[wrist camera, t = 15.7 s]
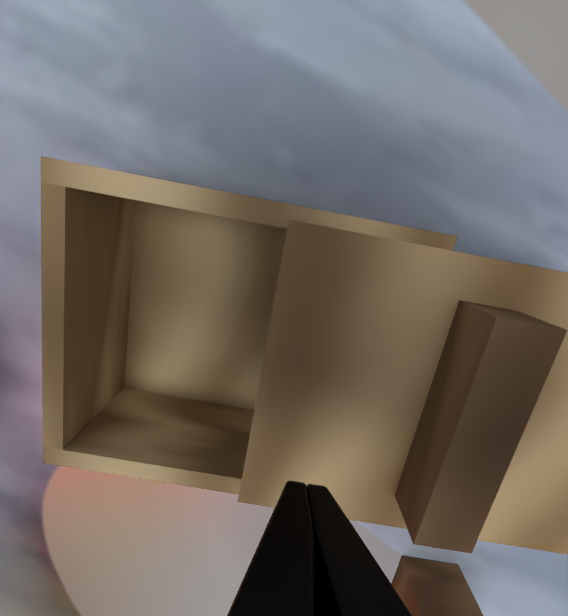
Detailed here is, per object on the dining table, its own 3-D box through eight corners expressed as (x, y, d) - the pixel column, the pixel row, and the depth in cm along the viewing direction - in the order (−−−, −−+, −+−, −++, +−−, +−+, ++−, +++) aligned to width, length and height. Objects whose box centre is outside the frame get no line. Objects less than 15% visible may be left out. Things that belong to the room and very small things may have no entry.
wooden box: (116, 390, 19) (43, 462, 14) (128, 179, 16) (40, 156, 11) (529, 461, 20) (626, 556, 14) (614, 272, 17) (778, 298, 11)
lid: (240, 485, 14) (229, 550, 11) (288, 219, 11) (289, 218, 8) (558, 537, 14) (621, 611, 11) (681, 294, 11) (804, 317, 9)
